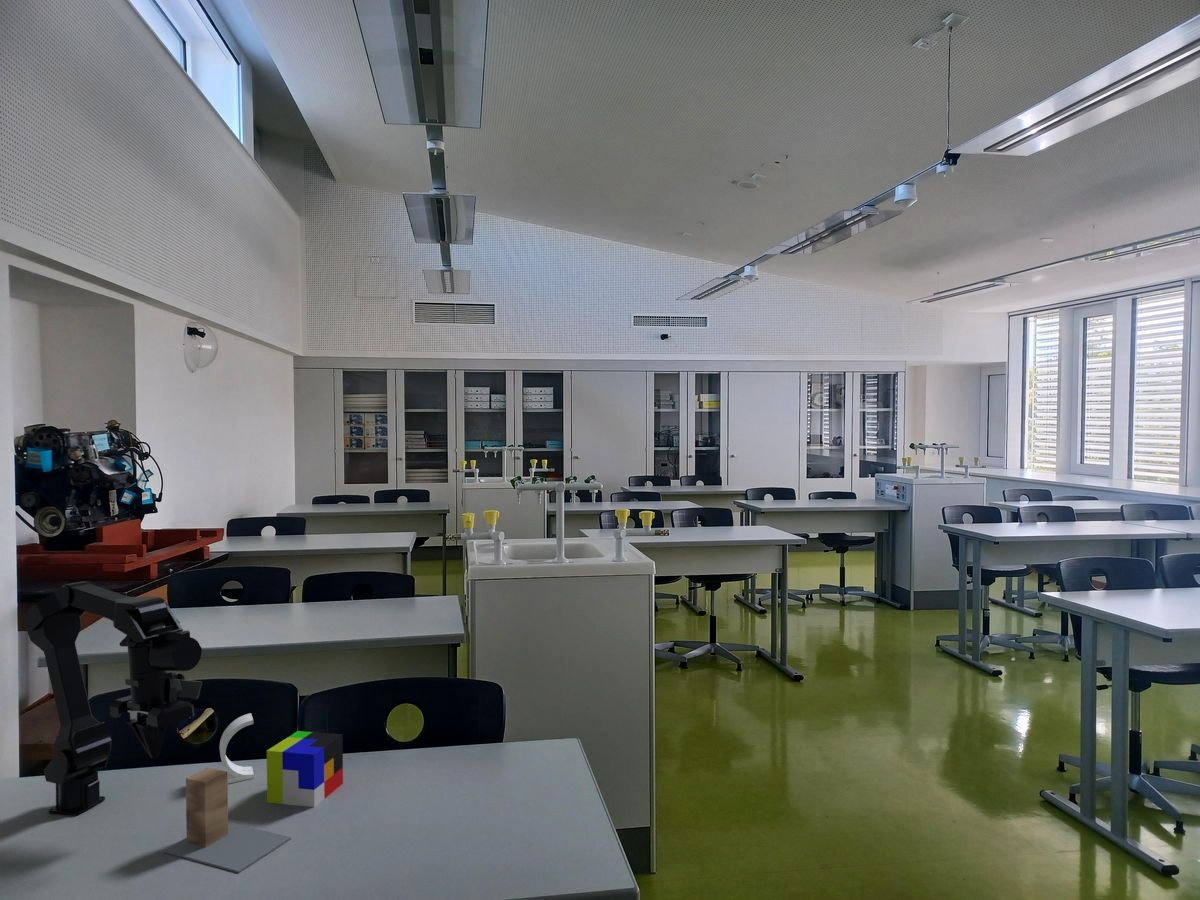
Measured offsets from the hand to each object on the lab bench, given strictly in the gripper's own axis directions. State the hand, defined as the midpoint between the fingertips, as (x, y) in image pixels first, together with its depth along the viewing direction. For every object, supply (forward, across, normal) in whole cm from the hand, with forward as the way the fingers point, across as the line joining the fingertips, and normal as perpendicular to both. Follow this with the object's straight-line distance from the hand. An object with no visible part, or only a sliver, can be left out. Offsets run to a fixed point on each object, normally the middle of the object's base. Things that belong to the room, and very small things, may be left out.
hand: (154, 757), depth 133 cm
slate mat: (+14, -16, -3) cm, 22 cm away
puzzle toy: (+14, -10, -23) cm, 28 cm away
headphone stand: (+12, +8, -19) cm, 24 cm away
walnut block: (+13, -11, -2) cm, 18 cm away
